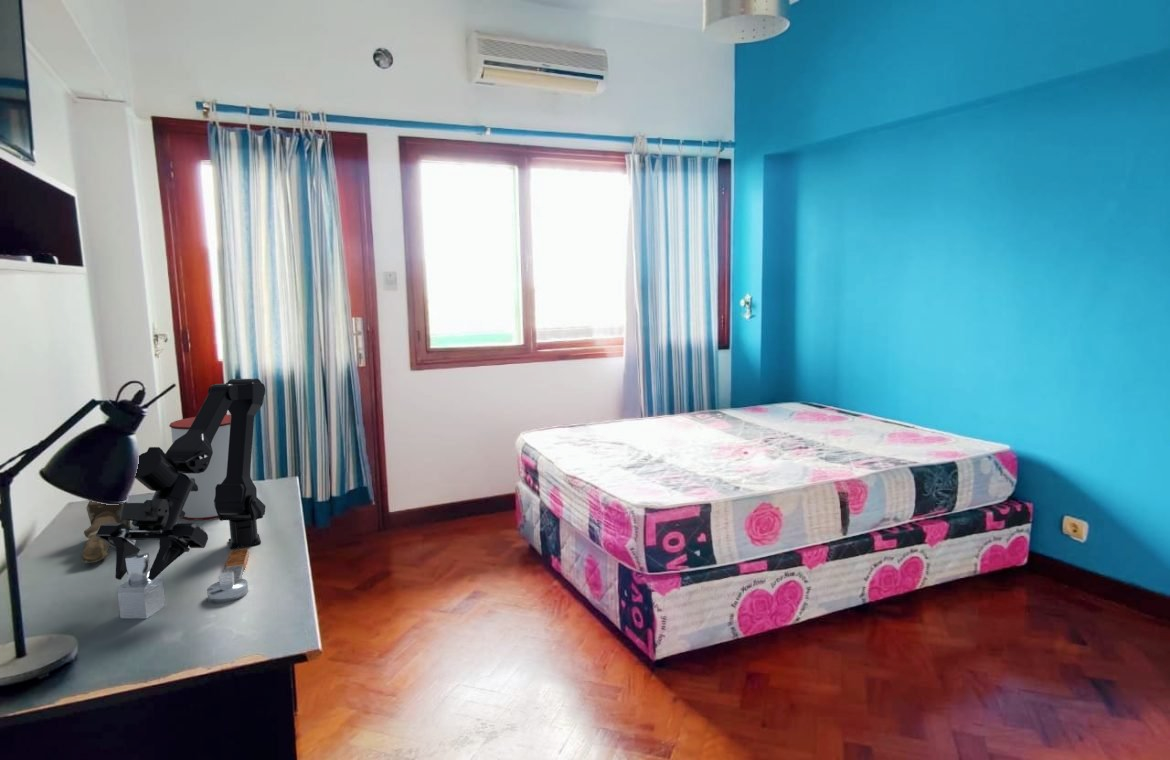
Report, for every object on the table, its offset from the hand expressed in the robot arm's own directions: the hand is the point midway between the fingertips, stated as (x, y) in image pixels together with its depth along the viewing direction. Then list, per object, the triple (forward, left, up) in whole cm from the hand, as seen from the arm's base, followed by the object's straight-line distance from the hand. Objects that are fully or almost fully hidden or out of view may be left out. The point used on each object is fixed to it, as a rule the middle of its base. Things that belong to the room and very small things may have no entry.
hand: (134, 579), depth 121 cm
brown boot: (-43, -9, -7) cm, 44 cm away
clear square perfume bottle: (-1, +1, -7) cm, 7 cm away
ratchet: (-8, +16, -7) cm, 19 cm away
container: (-61, +15, -7) cm, 63 cm away
